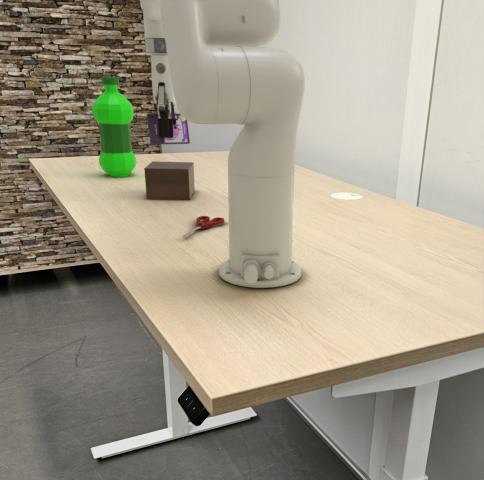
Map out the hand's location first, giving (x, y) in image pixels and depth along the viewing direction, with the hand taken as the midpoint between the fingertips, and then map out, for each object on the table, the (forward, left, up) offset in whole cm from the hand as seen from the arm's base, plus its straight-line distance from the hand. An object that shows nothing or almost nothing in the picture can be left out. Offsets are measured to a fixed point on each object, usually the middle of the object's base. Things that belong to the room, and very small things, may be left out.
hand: (168, 135), depth 133 cm
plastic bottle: (+24, +18, -14) cm, 33 cm away
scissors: (-31, -10, -14) cm, 35 cm away
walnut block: (0, 0, -14) cm, 14 cm away
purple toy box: (0, 0, -2) cm, 2 cm away
